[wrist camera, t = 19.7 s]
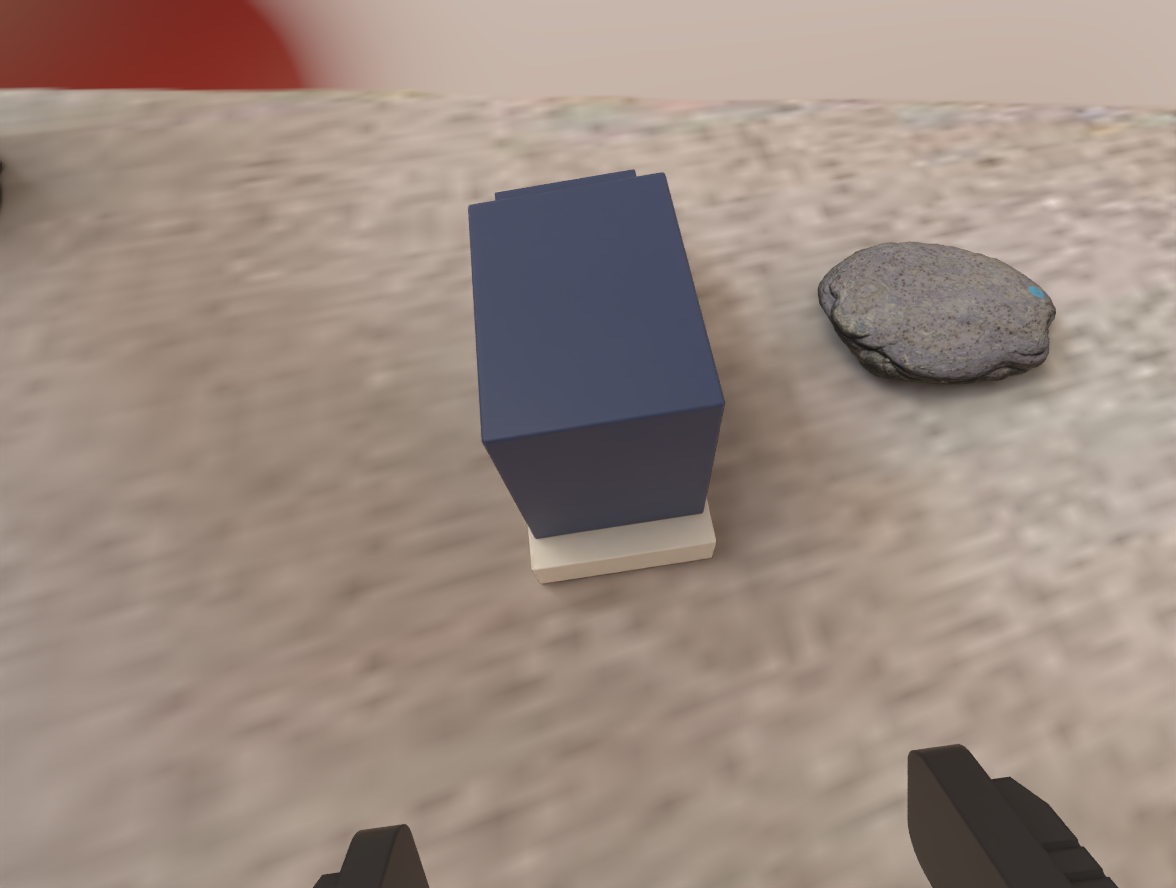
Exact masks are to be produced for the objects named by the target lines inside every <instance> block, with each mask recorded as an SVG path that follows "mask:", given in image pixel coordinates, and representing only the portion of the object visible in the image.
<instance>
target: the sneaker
mask: <svg viewBox="0 0 1176 888" xmlns="http://www.w3.org/2000/svg"><path fill="white" fill-rule="evenodd" d="M468 214H469V231H470V248H471V266H472V283H473V300H474V317H475V334H476V351H477V369H478V386H479V403H480V420H481V437H482V443H483V445H484V446H485V448H486V450H487V452H488V454H489V455H490V457H491V459H492V461H493V463H494V465H495V466H496V468H497V470H498V472H499V474H500V475H501V477H502V479H503V481H504V483H505V485H506V486H507V488H508V490H509V492H510V494H511V496H512V497H513V499H514V501H515V503H516V505H517V506H518V508H519V510H520V512H521V514H522V516H523V517H524V519H525V521H526V523H527V525H528V535H529V546H530V557H531V568H532V571H533V572H534V574H535V575H536V577H537V579H538V580H539V582H540V583H541V584H543V583H549V582H556V581H563V580H569V579H576V578H582V577H589V576H595V575H602V574H609V573H615V572H622V571H628V570H635V569H642V568H648V567H655V566H661V565H668V564H674V563H681V562H688V561H694V560H701V559H707V558H712V555H713V552H714V548H715V545H716V537H715V533H714V529H713V524H712V520H711V516H710V511H709V507H708V502H707V498H706V497H707V492H708V486H709V481H710V476H711V471H712V466H713V461H714V456H715V451H716V446H717V441H718V436H719V431H720V426H721V421H722V416H723V411H724V406H725V400H724V397H723V393H722V389H721V385H720V381H719V378H718V374H717V370H716V366H715V362H714V359H713V355H712V351H711V347H710V343H709V339H708V336H707V332H706V328H705V324H704V320H703V317H702V313H701V309H700V305H699V301H698V298H697V294H696V290H695V286H694V282H693V279H692V275H691V271H690V267H689V263H688V259H687V256H686V252H685V248H684V244H683V240H682V237H681V233H680V229H679V225H678V221H677V218H676V214H675V210H674V206H673V202H672V199H671V195H670V191H669V187H668V183H667V179H666V176H665V174H664V173H656V174H650V175H644V176H638V177H636V173H635V170H634V169H633V170H627V171H621V172H615V173H609V174H603V175H598V176H592V177H586V178H580V179H574V180H568V181H562V182H556V183H550V184H544V185H539V186H533V187H527V188H521V189H515V190H509V191H503V192H497V193H495V201H490V202H484V203H478V204H472V205H469V207H468Z"/></svg>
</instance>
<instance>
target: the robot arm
mask: <svg viewBox="0 0 1176 888" xmlns="http://www.w3.org/2000/svg"><path fill="white" fill-rule="evenodd" d="M1 165H2V161H1V160H0V166H1ZM908 829H909V834H910V838H911V842H912V845H913V848H914V851H915V854H916V856H917V859H918V861H919V863H920V865H921V867H922V869H923V871H924V873H925V875H926V877H927V878H928V880H929V882H930V884H931V886H932V887H933V888H1118V887H1117V886H1116V885H1115V883H1114V882H1113V881H1112V880H1111V879H1110V877H1106V876H1105V875H1104V873H1103V869H1102V868H1101V867H1100V865H1099V864H1098V863H1097V862H1096V861H1095V859H1094V858H1093V857H1092V856H1091V855H1090V853H1089V852H1088V851H1087V850H1086V849H1085V847H1084V846H1083V847H1081V846H1080V845H1079V843H1078V839H1077V838H1076V837H1075V835H1074V834H1073V833H1072V832H1071V831H1070V829H1069V828H1068V827H1067V826H1066V825H1065V824H1064V822H1063V821H1062V820H1061V819H1060V818H1059V816H1058V815H1057V814H1056V813H1055V812H1054V810H1053V809H1052V808H1051V807H1050V806H1049V804H1047V803H1046V802H1045V801H1043V800H1042V799H1040V798H1039V797H1038V796H1036V795H1035V794H1033V793H1032V792H1031V791H1029V790H1028V789H1026V788H1025V787H1024V786H1022V785H1021V784H1019V783H1018V782H1017V781H1015V780H1014V779H1012V778H1011V777H1005V778H998V779H990V777H989V776H988V775H987V773H986V772H985V771H984V769H983V768H982V767H981V766H980V764H979V763H978V762H977V760H976V759H975V758H974V756H973V755H972V754H971V753H970V752H969V750H968V749H966V748H965V747H964V746H963V745H960V744H955V745H948V746H940V747H933V748H926V749H919V750H912V751H910V753H909V755H908ZM313 888H429V885H428V882H427V879H426V876H425V873H424V870H423V867H422V864H421V861H420V858H419V855H418V852H417V848H416V845H415V842H414V839H413V836H412V833H411V831H410V828H409V827H408V826H407V825H406V824H402V825H395V826H388V827H381V828H374V829H367V830H360V831H358V832H357V833H356V834H355V835H354V837H353V839H352V841H351V843H350V846H349V849H348V852H347V854H346V857H345V860H344V862H343V865H342V868H341V871H340V872H339V873H332V874H325V875H322V876H321V877H320V879H319V880H318V881H317V883H316V884H315V885H314V887H313Z"/></svg>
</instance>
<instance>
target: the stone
mask: <svg viewBox="0 0 1176 888" xmlns="http://www.w3.org/2000/svg"><path fill="white" fill-rule="evenodd" d="M818 297H819V303H820V305H821V307H822V308H823V309H824V311H825V313H826V314H827V316H828V317H829V319H830V321H831V323H832V324H833V326H834V329H835V331H836V333H837V334H838V336H839V337H840V339H841V340H842V341H843V342H844V343H845V344H846V345H847V346H848V348H849V349H850V350H851V352H852V353H853V354H854V355H855V356H856V357H857V359H858V360H859V362H860V363H861V365H862V366H863V367H864V368H865V369H866V370H868V371H869V372H871V373H873V374H876V375H878V376H881V377H884V378H895V379H906V380H910V381H919V382H926V383H948V384H966V383H973V382H976V381H997V380H1002V379H1004V378H1006V377H1008V376H1012V375H1018V374H1022V373H1025V372H1027V371H1028V370H1029V369H1032V368H1035V367H1038V366H1039V365H1041V364H1042V363H1043V362H1044V361H1045V360H1046V358H1047V356H1048V353H1049V337H1048V332H1049V331H1048V328H1049V326H1050V324H1051V322H1052V321H1053V320H1054V318H1055V314H1056V309H1055V307H1054V305H1053V303H1052V300H1051V298H1050V297H1049V296H1048V295H1047V293H1046V292H1045V291H1044V290H1043V289H1042V288H1041V287H1040V286H1039V285H1037V284H1036V283H1035V282H1034V281H1032V280H1031V279H1029V278H1028V277H1026V276H1025V275H1024V274H1022V273H1020V272H1019V271H1017V270H1015V269H1014V268H1012V267H1011V266H1009V265H1007V264H1006V263H1004V262H1002V261H1000V260H998V259H995V258H990V257H987V256H985V255H983V254H978V253H973V252H970V251H967V250H963V249H959V248H956V247H950V246H944V245H939V244H924V243H918V242H903V243H883V244H879V245H876V246H873V247H870V248H867V249H863V250H860V251H857V252H855V253H854V254H853V255H851V256H849V257H848V258H846V259H845V260H844V261H842V262H841V263H839V264H838V265H836V266H835V267H833V268H832V269H831V270H830V271H829V272H828V273H827V274H826V275H825V276H824V278H823V280H822V281H821V282H820V284H819V287H818Z"/></svg>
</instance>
